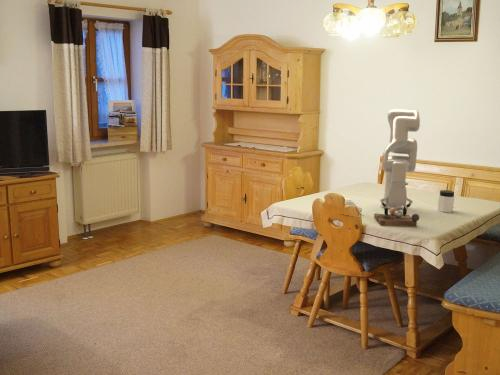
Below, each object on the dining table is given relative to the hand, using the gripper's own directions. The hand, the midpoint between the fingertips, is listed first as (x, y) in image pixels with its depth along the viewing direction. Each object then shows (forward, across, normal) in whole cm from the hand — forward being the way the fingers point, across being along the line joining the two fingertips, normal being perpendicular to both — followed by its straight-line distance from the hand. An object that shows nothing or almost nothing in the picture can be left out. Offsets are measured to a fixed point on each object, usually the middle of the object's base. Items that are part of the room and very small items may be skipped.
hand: (395, 215), depth 305 cm
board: (+4, 0, 0) cm, 4 cm away
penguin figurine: (+4, +20, -17) cm, 27 cm away
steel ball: (-1, -2, 0) cm, 2 cm away
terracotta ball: (-1, -1, -6) cm, 7 cm away
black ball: (-1, -9, +6) cm, 11 cm away
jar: (+4, -39, -32) cm, 50 cm away
